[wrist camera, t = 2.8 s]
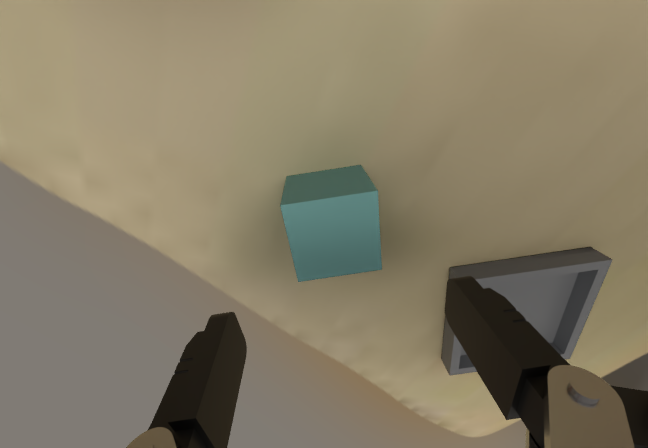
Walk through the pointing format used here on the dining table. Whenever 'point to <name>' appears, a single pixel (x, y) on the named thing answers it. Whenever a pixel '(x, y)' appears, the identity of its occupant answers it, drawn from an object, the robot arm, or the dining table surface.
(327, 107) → the dining table surface
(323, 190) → the teal cube
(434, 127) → the dining table surface
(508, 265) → the tray
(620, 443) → the robot arm
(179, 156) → the dining table surface
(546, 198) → the dining table surface
